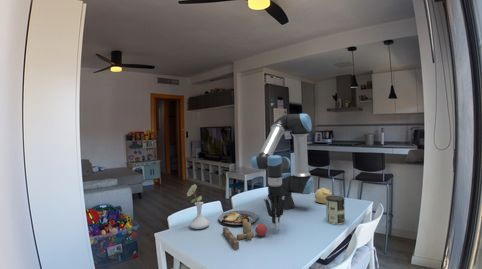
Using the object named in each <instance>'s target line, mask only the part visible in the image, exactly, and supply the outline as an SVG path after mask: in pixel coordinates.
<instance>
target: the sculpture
mask: <svg viewBox="0 0 482 269" xmlns="http://www.w3.org/2000/svg"><path fill="white" fill-rule="evenodd" d="M331 195H333V193H332V191H331V190H330V189H328V188H327V187H326V188H325V187H321V188H319V189H317V190H316V191H315V193H314V198H315V201H316V203H319V204H324V205H326V196H331Z"/></svg>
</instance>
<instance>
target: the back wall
mask: <svg viewBox="0 0 482 269" xmlns="http://www.w3.org/2000/svg"><path fill="white" fill-rule="evenodd" d="M222 234H223V236H224V237H225V239H226V240H227V241H228V242H229V244H230V245H231V247H232V248H233V250H234V251H236V250H237V251H238V250H239V249H240V241H239V240H237V237H235V236H236V235H234V234H233V232H232V231H231V230H230V228H228V227H227V226H222Z"/></svg>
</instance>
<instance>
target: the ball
mask: <svg viewBox="0 0 482 269" xmlns="http://www.w3.org/2000/svg"><path fill="white" fill-rule="evenodd" d="M254 229H255V230H254V231H255V234H256V235H257V236H259V237H264V236H266V234H267V232H268V229H267V226H266V225H265V224H264V223H258V224H257V225H256V227H255V228H254Z"/></svg>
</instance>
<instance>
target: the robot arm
mask: <svg viewBox="0 0 482 269" xmlns="http://www.w3.org/2000/svg"><path fill="white" fill-rule="evenodd" d="M312 127H313V125H312V119H311V117H310V115H309V114H308V113H292V114H291V113H290V114H288V113H287V114H283V115H281V116H279V117H278V118H276V120H275V121H274V122H273V123H272V124H271V127H270V131H269V134H268V136H267V138H266V140H265V142H264V143H263V146H262V148H261V150H260V151H259V152H258V155H256V156H253V157H252V158H251V160H250V165H251V167H252V169H254V170H259V171H260V170H264V171H267V191H268V194H267V197H266V198H263V201H264V203H265V206H266V210H267V214H268V216H269V217H270V218H271V223H272V224H273V229H274V230H275V231H278V230H279V223H280V222H281V221H280V219H281V217H282V216H283V215H284V212H285V211H286V210H291V209H294V208H295V202H294V198H293V196H292V195H293V194H300V195H310V194H311V193H312V192H313V189H314V184H315V179H314V177H313V176H312V175H311V173H310V172H309V163H308V162H309V161H308V160H309V159H308V140H307V139H308V136H309V134H310V132H311V131H312ZM286 132H290V135H291V136H292V137H293V150H294V151H293V152H294V153H293V154H294V156H293V158H294V172H293V174H292V173H291V172H285V171H288V169H290V167H291V165H292V164H291V160H290V158H288V157H287V156H281V155H278V154H277V155H274V152H275V150H276V148H277V146H278V143H279V142H280V140H281V138H282V136H283V135H284V134H285V133H286ZM283 171H284V173H283Z"/></svg>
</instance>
